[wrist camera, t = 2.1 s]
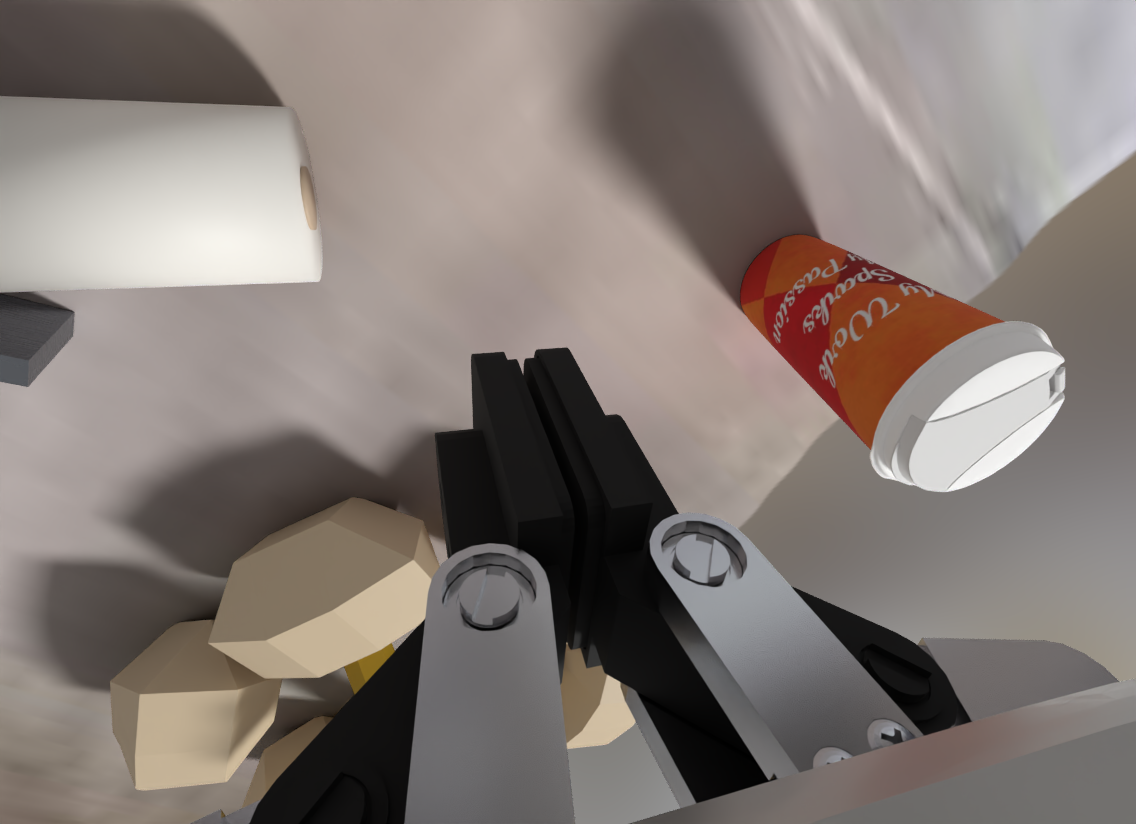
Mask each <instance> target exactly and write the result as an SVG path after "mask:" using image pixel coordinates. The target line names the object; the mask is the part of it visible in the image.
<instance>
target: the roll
mask: <svg viewBox="0 0 1136 824" xmlns="http://www.w3.org/2000/svg"><path fill="white" fill-rule="evenodd" d="M321 275H322V237H321V225H320V216H319V208H318V201H317V194H316V189H315V183H314V178H313V172H312V166H311V161H310V156H309V152H308V147H307V143H306V139H305V136H304V132H303V129H302V126H301V123H300V120H299V118H298V115H297V113H296V111H295V110H294V108H292V107H277V106H251V105H224V104H198V103H171V102H145V101H119V100H92V99H66V98H39V97H13V96H0V293H1V292H31V291H61V290H90V289H119V288H149V287H178V286H207V285H237V284H266V283H295V282H319V281H320V279H321Z"/></svg>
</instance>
